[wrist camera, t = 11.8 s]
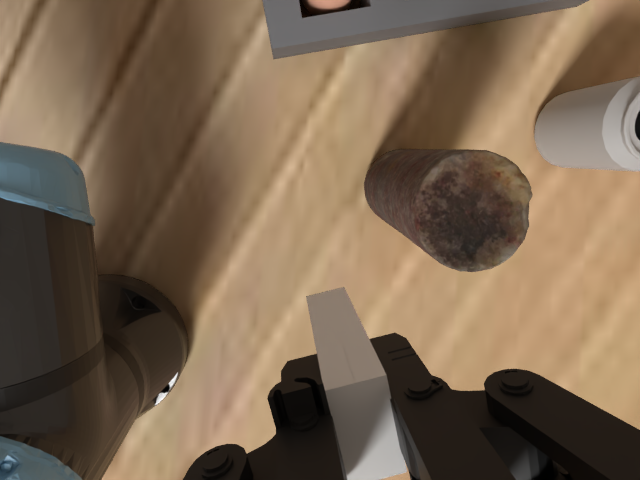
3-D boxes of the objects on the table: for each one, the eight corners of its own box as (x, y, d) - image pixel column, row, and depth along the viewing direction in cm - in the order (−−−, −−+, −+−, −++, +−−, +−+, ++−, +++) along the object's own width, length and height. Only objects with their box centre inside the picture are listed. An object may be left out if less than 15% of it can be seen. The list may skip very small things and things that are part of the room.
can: (537, 88, 42) (632, 63, 31) (606, 96, 43) (725, 76, 31) (523, 163, 44) (608, 167, 32) (590, 170, 44) (697, 177, 33)
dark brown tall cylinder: (349, 207, 43) (398, 252, 24) (374, 138, 42) (447, 126, 23) (416, 230, 44) (516, 291, 25) (443, 163, 43) (569, 173, 24)
